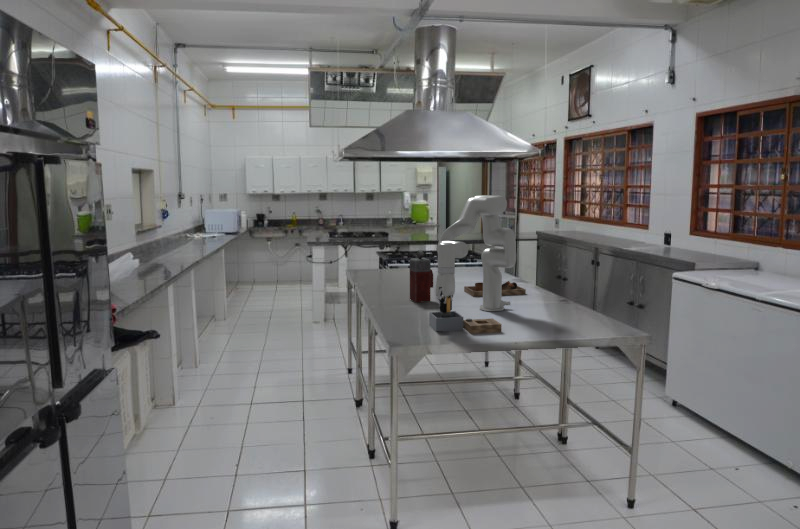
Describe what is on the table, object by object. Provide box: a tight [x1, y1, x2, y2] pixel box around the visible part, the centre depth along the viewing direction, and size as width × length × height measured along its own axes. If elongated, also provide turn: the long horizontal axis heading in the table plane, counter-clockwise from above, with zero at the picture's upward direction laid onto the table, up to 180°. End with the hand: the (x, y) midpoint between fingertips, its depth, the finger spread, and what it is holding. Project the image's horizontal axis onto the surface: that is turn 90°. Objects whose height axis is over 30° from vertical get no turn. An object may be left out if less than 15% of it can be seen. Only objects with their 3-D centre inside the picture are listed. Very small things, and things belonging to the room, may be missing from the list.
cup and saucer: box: [473, 282, 483, 291], centre depth 334 cm, size 12×12×6 cm
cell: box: [441, 296, 451, 318], centre depth 253 cm, size 4×4×10 cm
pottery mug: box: [502, 280, 518, 290], centre depth 336 cm, size 12×10×8 cm
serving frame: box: [463, 285, 527, 298], centre depth 336 cm, size 32×17×3 cm, turn 101°
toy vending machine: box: [409, 250, 434, 303], centre depth 314 cm, size 9×11×28 cm
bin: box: [428, 310, 464, 332], centre depth 254 cm, size 12×12×6 cm
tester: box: [463, 318, 502, 335], centre depth 250 cm, size 14×11×4 cm
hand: (445, 310), depth 253 cm, fingers closed on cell, 4 cm apart
